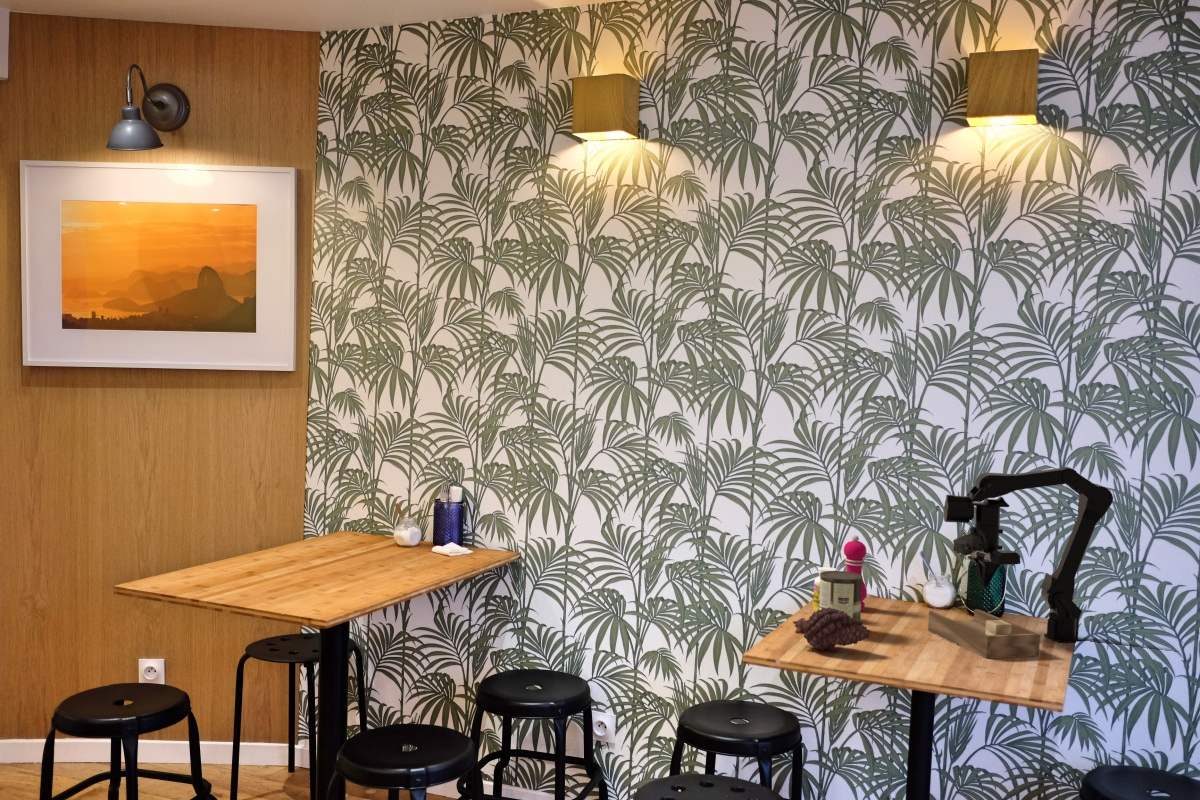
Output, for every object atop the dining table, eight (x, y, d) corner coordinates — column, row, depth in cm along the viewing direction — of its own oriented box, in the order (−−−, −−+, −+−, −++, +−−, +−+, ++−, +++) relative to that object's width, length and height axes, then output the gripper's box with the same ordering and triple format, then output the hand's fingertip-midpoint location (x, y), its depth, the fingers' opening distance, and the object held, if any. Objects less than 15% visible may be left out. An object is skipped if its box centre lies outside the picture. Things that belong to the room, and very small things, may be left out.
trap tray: (976, 628, 267) (977, 609, 267) (1039, 655, 244) (1040, 634, 244) (927, 630, 264) (928, 611, 263) (986, 658, 240) (987, 636, 240)
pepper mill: (866, 612, 280) (870, 538, 280) (839, 610, 282) (842, 536, 281) (865, 606, 288) (868, 533, 287) (838, 604, 289) (841, 532, 288)
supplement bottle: (807, 615, 276) (809, 566, 275) (829, 613, 278) (831, 565, 278) (821, 621, 270) (823, 571, 269) (843, 620, 272) (845, 570, 271)
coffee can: (844, 624, 267) (846, 569, 267) (868, 635, 258) (871, 578, 257) (809, 627, 264) (811, 571, 263) (833, 638, 254) (835, 580, 253)
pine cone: (870, 649, 245) (872, 606, 245) (867, 660, 236) (869, 616, 235) (793, 640, 251) (795, 599, 250) (787, 651, 241) (789, 608, 241)
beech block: (1000, 638, 248) (1001, 619, 248) (1010, 643, 245) (1011, 624, 244) (985, 639, 247) (986, 620, 247) (995, 644, 244) (996, 624, 243)
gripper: (936, 518, 268) (934, 579, 269) (984, 531, 250) (981, 596, 251) (974, 517, 271) (971, 577, 272) (1023, 529, 253) (1020, 594, 254)
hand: (984, 586), depth 262 cm, fingers closed
